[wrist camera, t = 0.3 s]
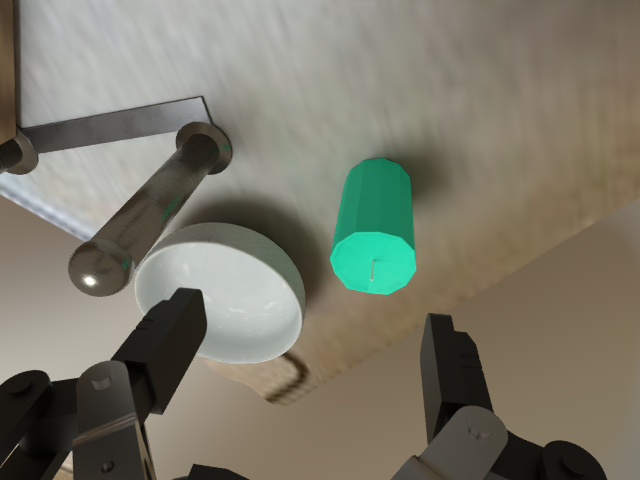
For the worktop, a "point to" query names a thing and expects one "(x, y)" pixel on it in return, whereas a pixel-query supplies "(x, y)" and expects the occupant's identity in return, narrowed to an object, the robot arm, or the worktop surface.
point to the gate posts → (149, 201)
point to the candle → (375, 229)
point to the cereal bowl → (229, 289)
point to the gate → (7, 73)
